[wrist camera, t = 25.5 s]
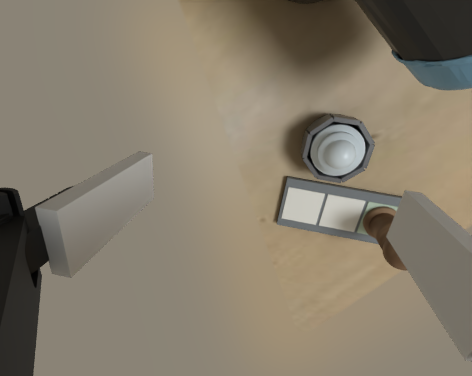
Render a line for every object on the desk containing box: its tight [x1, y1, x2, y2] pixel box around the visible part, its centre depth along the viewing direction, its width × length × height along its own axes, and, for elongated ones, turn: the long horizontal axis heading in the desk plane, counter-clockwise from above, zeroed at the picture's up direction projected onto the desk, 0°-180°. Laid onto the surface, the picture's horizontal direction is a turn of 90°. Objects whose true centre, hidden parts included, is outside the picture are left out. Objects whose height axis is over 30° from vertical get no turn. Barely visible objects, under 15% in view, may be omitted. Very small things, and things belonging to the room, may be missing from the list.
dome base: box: [301, 114, 375, 183], centre depth 38 cm, size 9×9×4 cm
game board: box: [277, 176, 402, 244], centre depth 44 cm, size 9×20×1 cm, turn 83°
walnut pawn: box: [363, 206, 407, 270], centre depth 38 cm, size 6×6×11 cm
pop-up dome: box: [309, 123, 365, 176], centre depth 35 cm, size 7×7×6 cm
